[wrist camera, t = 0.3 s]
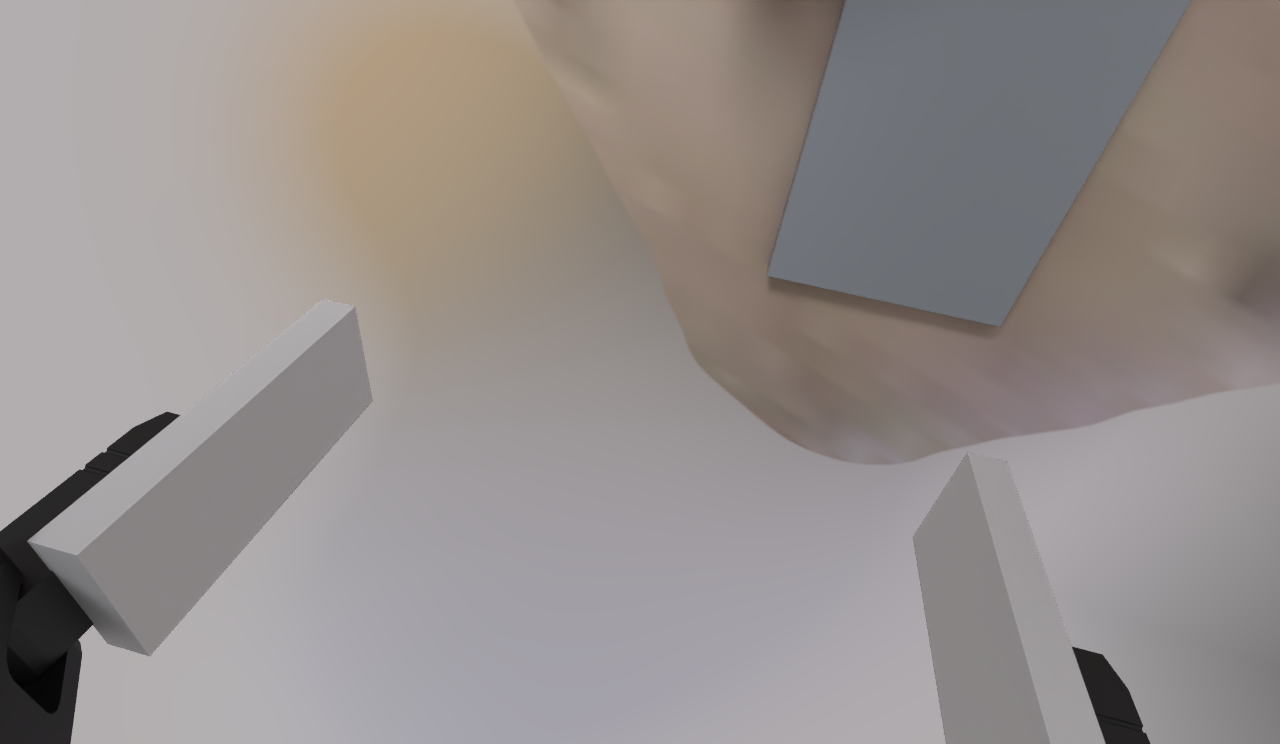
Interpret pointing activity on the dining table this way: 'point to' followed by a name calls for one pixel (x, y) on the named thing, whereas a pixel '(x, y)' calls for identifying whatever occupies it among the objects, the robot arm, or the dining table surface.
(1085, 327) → the dining table surface
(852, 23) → the board
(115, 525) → the robot arm
